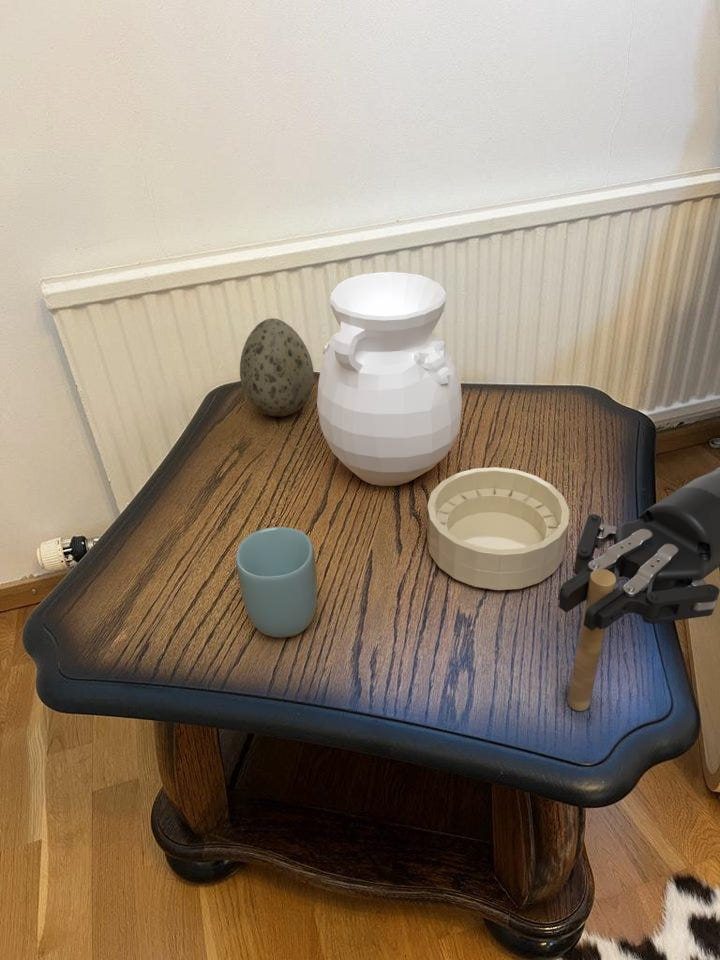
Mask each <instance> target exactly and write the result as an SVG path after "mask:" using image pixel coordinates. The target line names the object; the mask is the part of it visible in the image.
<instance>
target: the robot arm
mask: <svg viewBox="0 0 720 960" xmlns="http://www.w3.org/2000/svg"><path fill="white" fill-rule="evenodd" d="M602 519H603V518H602V517H601V516H600V515H598V514H594V513H592V514H589V515H588V516H587V518H586V521H585V524H584V528H583V530H582V534H581V535H580V536H581V537H580V540H579V543H578V545H577V548H576V553H575V559H574V565H573V573H574V576H572V577H570V578H569V579H568V580H566V581H564V582H563V583H562V584H561V586H560V590H559V597H558V600H559V601H558V608H559V609H560V610H562V611H563V612H564V613H569V612H570V611H572V610H573V609H575V608H576V607H578V606H579V605H580V604H582V603H583V602H586V596H587V591H588V586H589V580H590V575H591V573H592V572H593V571H594V570H596V569H606V570H608V571H610V572H612V573H613V574H614V575H615V577H616V583H615V585H616V584H618V583H620V582H621V581H623V580H625V579H629V580H628V581H627V582H625V584H624V585H623V587H622V589H620V588H618V587H615V588H614V590H613V591H612V592H610V593H608V594H607V595H605V596H604V597H602V598H601V599H600V600H598V601H597V602H595V603H594V604H592V605H591V606H590V607H589V608H588V609H587V611H586V614H585V619H584V626H585V627H587V628H588V629H589V630H591V631H593V630H594V629H596V628H597V627H598V628H599V629H604V628H606V629H607V628H609V627H610V626H611V625H613V624H615V622H617V621H618V620H620V619H621V618H622V617H624V616H625V615H626V616H630V615H632V614H636V615H639V616H640V617H641V620H642V621H643V622H644V623H646V624H649V625H654V624H661V623H667V622H675V621H681V620H689V619H696V618H703V617H710V616H712V615H713V613H714V610H715V607H716V605H717V602H718V600H719V595H720V588H719V587H718V586H717V585H715V584H713V583H712V584H711V583H707V582H706V580H705V578H706V577H708V576H709V575H710V574H711V573H713V572H714V571H715V570H717V569H718V568H720V465H719V466H718V467H716V468H715V469H712V470H711V471H710V472H708V473H706V474H703V475H701V476H699V477H696V478H694V479H692V480H691V481H689V482H687V483H685V484H684V485H682V486H680V487H679V488H678V489H676V490H675V491H674V492H672V493H670V494H668V495H667V496H665V497H663V498H662V499H660V500H659V501H657V502H655V503H654V504H653V505H651V506H650V507H648V508H647V509H646V510H644V511H643V512H642V514H640V516H638V518H637V519H635V520H631V521H625V522H621V523H620V524H618V525H617V526H614V525H609V524H606V523H602ZM609 541H613V545H611V546H610V547H608V548H607V549H606V551H605V553H604V554H602V555H600V556H598V557H596V558H594V554H595V552H596V551H595V550H596V549H597V550H601V548H602V546H605V545H606V544H607V543H608V542H609Z"/></svg>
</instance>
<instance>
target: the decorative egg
mask: <svg viewBox="0 0 720 960" xmlns="http://www.w3.org/2000/svg"><path fill="white" fill-rule="evenodd" d="M241 351H242V352H241V356H240V361H239V379H240V384H241V387H242V390H243V393H244V395H245V396H246V398H247V400H248V402H250V403H251V405H252V406H253V407H254V408H255V409H257V410H258V411H259V412H261V413H262V414H265V415H268V416H271V417H279V418H280V417H287V416H289V415H293V414H294V413H296V412H298V411H299V410H300V409H301V408H302V407H304V405H305V404H306V403H307V401H308V400H309V398H310V396H311V394H312V390H313V386H314V383H315V381H314V380H315V373H314V372H315V371H314V365H313V361H312V358H311V354H310V352H309V350H308V348H307V346H306V344H305V342H304V340H303V339H302V338H301V336H300V335H299V334H298V332H296V330H295V329H294V328H293V327H292V326H291V325H289V324H288V323H287V322H285V321H283V320H281V319H279V318H273V317H271V318H266V319H264V320H262V321H260V322H259V323H258V324H257V325H256V326H255V327H254V328H253V329H252V330H251V332H250V333H249V335H248V337H247V338H246V341H245V343H244V345H243V348H242V350H241Z"/></svg>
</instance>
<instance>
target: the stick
mask: <svg viewBox="0 0 720 960" xmlns="http://www.w3.org/2000/svg"><path fill="white" fill-rule="evenodd" d="M615 583H616V577H615V575H614V574H613V573H612V572H610V571H608V570H606V569H596V570H594V571H593V572H592V573H591V575H590V580H589V586H588V591H587V596H586V600H585V601H584V608H583V614H582V619H581V625H580V629H579V635H578V640H577V646H576V651H575V657H574V663H573V666H572V667H573V668H572V673H571V678H570V684H569V689H568V694H567V700H566V701H567V704H568V706H569V707H570V708H571V709H573V710H574V711H577V712H583V711H586V710H588V709H589V708H590V705H591V700H592V695H593V690H594V686H595V680H596V676H597V671H598V667H599V663H600V658H601V653H602V648H603V643H604V639H605V634H606V629H607V628H604V629H599V628H598V627H597V628H596V629H594V630H593V631H591V630H589V629H588V628H587V627H585V626H584V619H585V614H586V611H587V609H588V608H589V607H590V606H591V605H592V604H594V603H595V602H597V601H598V600H600V599H601V598H602V597H604V596H605V595H607V594H608V593H610V592H612V591H613V590H614V589H615V588H616V584H617V583H616V584H615Z"/></svg>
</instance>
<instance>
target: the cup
mask: <svg viewBox="0 0 720 960" xmlns="http://www.w3.org/2000/svg"><path fill="white" fill-rule="evenodd" d="M236 550H237V551H236V553H235V554H236V555H235V566H236V572H237V577H238V578H237V579H238V584H239V589H240V593H241V598H242V602H243V605H244V608H245V611H246V614H247V616H248V618H249V620H250V622H251V624H252V625H253V627H254V628H255V629H256V630H257V631H258V632H260V633H261V634H263V635H265V636H268V637H271V638H275V639H276V638H277V639H286V638H292V637H294V636H297V635H299V634H301V633H303V632H304V631H305V630H306V629H308V627H309V626H310V624H311V623H312V622H313V620H314V618H315V615H316V611H317V605H318V576H317V573H318V572H317V565H316V564H317V563H316V557H315V549H314V546H313V543H312V540H311V539H310V536H308V535H307V534H306V532H303V531H301V530H300V529H296V528H293V527H286V526H272V527H266V528H261V529H259V530H256V531H254V532H252V533H250V534H248V535H247V536H246V537H245V538H244V539H243V540H242V541H241V543H240V544H239V545H238V547H237V549H236Z"/></svg>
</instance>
